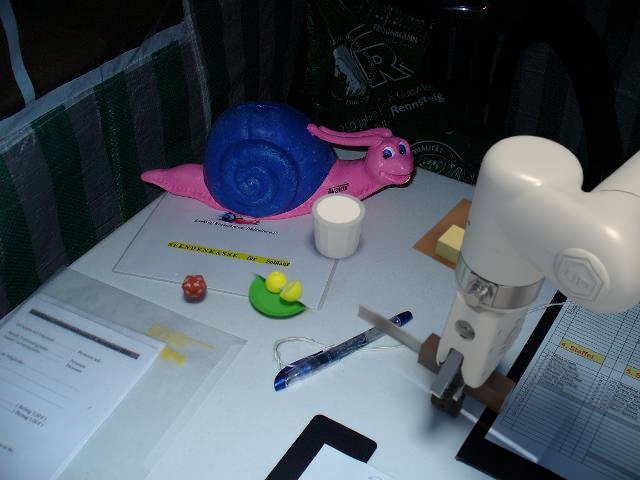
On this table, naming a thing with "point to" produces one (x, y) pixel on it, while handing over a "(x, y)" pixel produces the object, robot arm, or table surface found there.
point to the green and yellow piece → (276, 295)
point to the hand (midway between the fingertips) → (463, 383)
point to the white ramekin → (337, 224)
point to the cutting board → (431, 237)
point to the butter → (450, 243)
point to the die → (194, 286)
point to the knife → (489, 393)
